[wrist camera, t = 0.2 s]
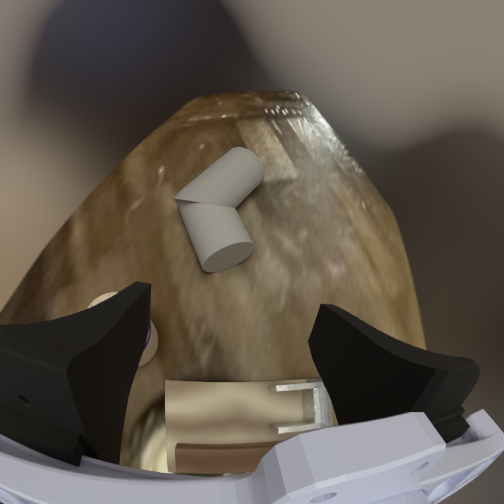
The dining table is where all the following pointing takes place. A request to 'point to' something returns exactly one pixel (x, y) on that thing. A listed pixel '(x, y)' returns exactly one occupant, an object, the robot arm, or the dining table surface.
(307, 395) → the bracket
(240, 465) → the rail
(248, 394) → the base board
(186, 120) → the dining table surface
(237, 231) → the elbow connector
